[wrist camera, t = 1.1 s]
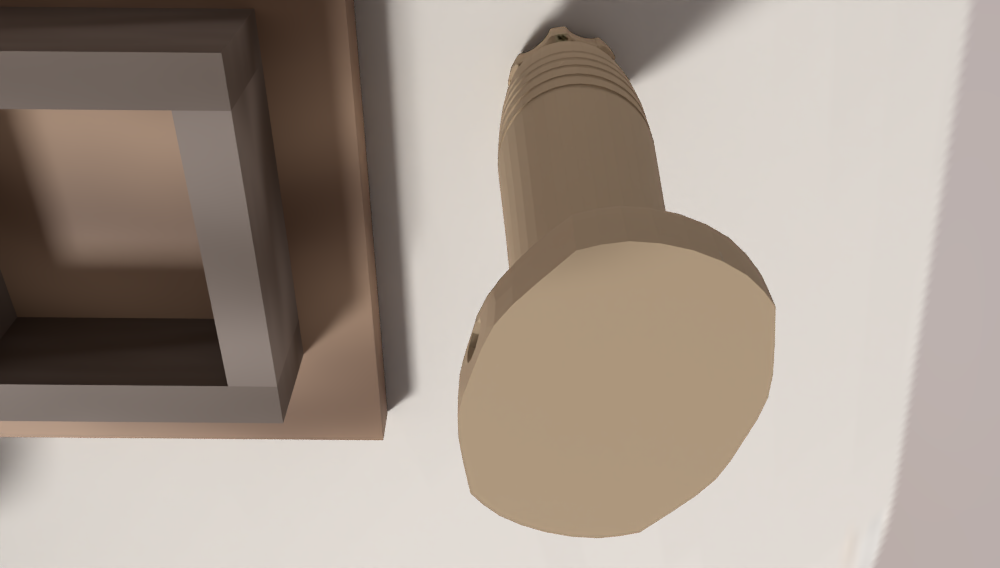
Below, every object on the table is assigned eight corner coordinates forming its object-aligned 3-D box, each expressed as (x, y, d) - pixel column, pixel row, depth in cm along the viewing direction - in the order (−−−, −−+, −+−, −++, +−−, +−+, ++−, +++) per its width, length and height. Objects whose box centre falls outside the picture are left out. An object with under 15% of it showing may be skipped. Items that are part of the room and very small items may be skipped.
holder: (-268, -165, 24) (-429, -131, 20) (340, -160, 24) (306, -125, 20) (-29, 409, 35) (-100, 508, 31) (387, 412, 35) (371, 511, 31)
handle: (680, -2, 26) (839, 292, 14) (599, 187, 30) (667, 559, 17) (521, -55, 26) (537, 205, 13) (457, 145, 29) (419, 504, 16)
